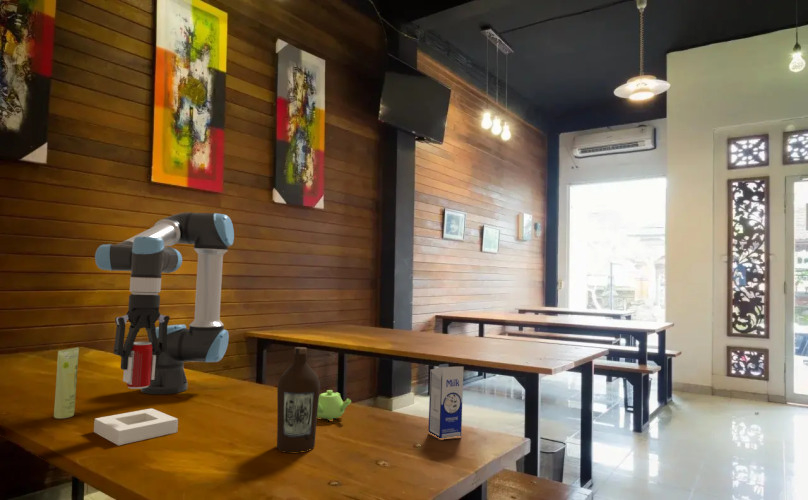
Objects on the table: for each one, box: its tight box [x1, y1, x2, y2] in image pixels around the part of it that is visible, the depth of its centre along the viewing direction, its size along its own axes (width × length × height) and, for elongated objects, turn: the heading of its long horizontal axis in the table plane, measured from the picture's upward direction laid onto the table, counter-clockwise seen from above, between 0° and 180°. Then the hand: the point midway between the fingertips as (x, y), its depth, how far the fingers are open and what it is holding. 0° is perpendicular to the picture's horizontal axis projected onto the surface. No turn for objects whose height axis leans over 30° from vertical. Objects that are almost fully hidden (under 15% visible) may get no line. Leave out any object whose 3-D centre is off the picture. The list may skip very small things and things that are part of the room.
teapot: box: [317, 389, 352, 421], centre depth 155 cm, size 11×12×8 cm
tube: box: [53, 346, 80, 419], centre depth 146 cm, size 6×5×20 cm
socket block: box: [93, 407, 179, 446], centre depth 135 cm, size 15×15×4 cm
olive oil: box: [276, 346, 321, 453], centre depth 128 cm, size 11×11×25 cm
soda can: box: [126, 341, 152, 390], centre depth 135 cm, size 6×6×12 cm
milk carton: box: [427, 363, 465, 438], centre depth 142 cm, size 7×7×20 cm
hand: (138, 380), depth 135 cm, fingers closed on soda can, 5 cm apart
